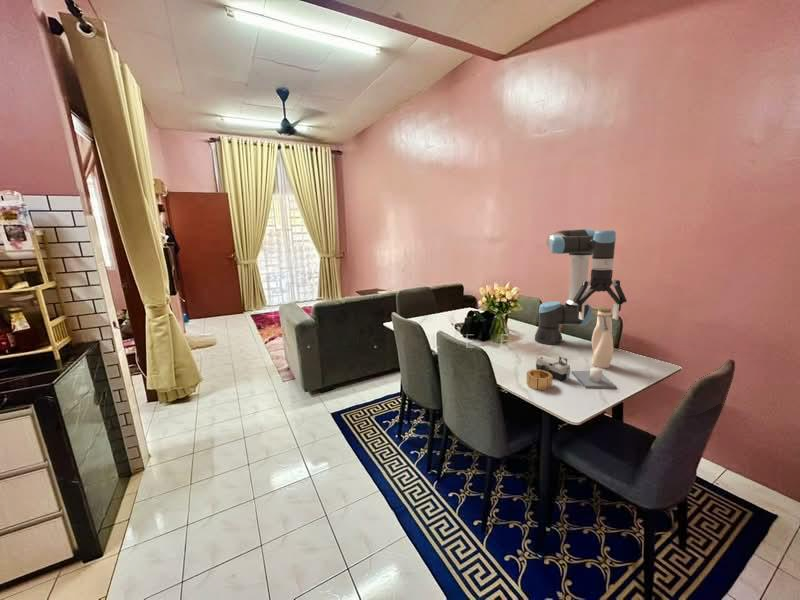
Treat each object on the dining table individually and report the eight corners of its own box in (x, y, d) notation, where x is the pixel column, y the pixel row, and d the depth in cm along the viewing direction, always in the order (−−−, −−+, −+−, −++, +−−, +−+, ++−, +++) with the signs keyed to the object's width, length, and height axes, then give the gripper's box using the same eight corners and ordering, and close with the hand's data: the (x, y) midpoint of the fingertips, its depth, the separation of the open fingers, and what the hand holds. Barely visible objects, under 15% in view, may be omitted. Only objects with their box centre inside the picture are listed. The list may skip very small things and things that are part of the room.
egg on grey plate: (571, 372, 149) (572, 360, 148) (598, 373, 148) (599, 360, 147) (585, 387, 135) (586, 374, 134) (616, 388, 133) (617, 374, 132)
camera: (532, 371, 153) (533, 351, 151) (544, 367, 156) (545, 348, 154) (559, 383, 140) (560, 362, 138) (571, 379, 143) (573, 358, 141)
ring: (524, 379, 144) (525, 369, 143) (547, 380, 143) (547, 369, 142) (530, 390, 135) (530, 378, 134) (554, 390, 134) (555, 379, 133)
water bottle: (616, 370, 150) (621, 311, 145) (594, 369, 152) (599, 311, 146) (607, 361, 160) (612, 306, 154) (587, 360, 162) (591, 306, 156)
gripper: (574, 270, 130) (570, 321, 134) (640, 268, 127) (634, 320, 131) (566, 268, 137) (563, 317, 141) (628, 267, 135) (623, 316, 139)
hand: (597, 319), depth 136 cm, fingers open, 13 cm apart
